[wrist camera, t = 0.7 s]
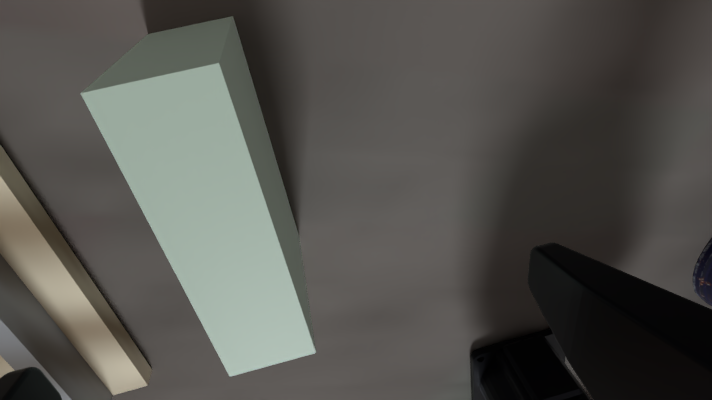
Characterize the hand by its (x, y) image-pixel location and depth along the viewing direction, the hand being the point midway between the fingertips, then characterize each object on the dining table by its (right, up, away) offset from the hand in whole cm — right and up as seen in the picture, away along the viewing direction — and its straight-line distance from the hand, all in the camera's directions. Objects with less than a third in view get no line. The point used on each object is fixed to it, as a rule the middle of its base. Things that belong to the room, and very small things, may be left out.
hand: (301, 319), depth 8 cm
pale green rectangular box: (-4, +4, +10) cm, 12 cm away
